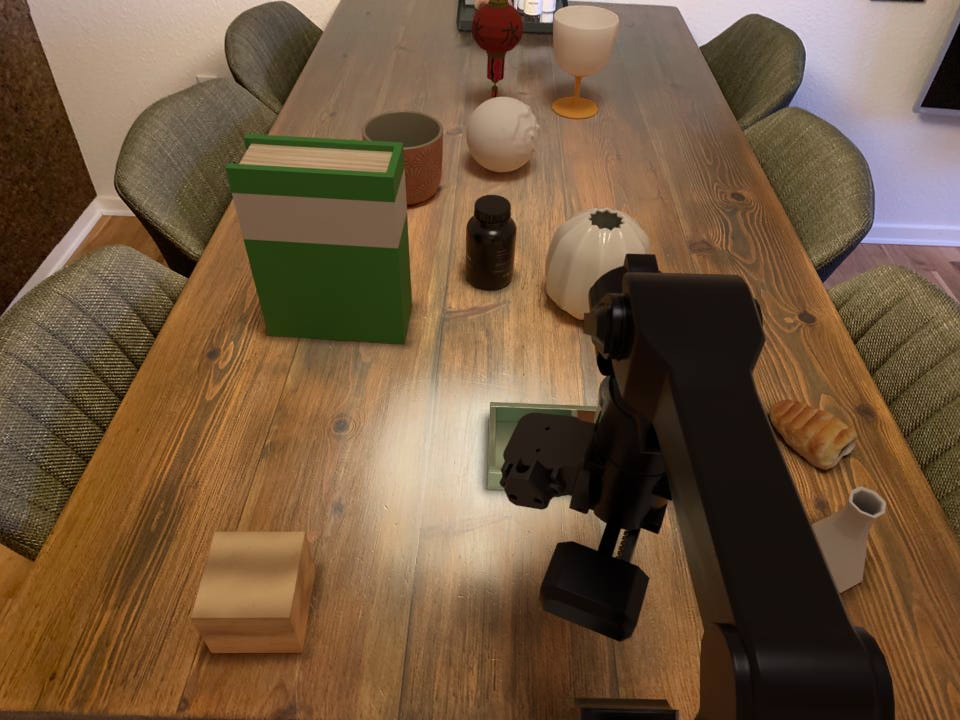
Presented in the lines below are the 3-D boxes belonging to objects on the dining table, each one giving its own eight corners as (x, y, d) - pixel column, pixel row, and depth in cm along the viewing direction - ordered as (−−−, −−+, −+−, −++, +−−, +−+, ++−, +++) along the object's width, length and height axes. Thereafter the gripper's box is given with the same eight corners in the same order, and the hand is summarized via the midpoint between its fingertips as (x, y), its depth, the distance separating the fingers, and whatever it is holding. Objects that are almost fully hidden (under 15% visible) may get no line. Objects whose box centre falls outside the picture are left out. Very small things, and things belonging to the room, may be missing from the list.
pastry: (753, 426, 82) (763, 404, 80) (785, 399, 86) (796, 377, 83) (826, 477, 78) (840, 456, 75) (857, 446, 81) (871, 425, 78)
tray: (665, 496, 75) (671, 480, 73) (487, 489, 75) (488, 472, 73) (652, 425, 82) (657, 408, 80) (489, 418, 82) (490, 401, 80)
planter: (398, 221, 110) (393, 157, 102) (352, 187, 116) (345, 125, 109) (459, 194, 116) (459, 131, 108) (413, 163, 122) (410, 102, 114)
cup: (564, 89, 144) (574, 0, 132) (615, 106, 140) (631, 15, 128) (533, 110, 137) (541, 18, 125) (585, 128, 133) (599, 34, 121)
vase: (524, 283, 100) (532, 201, 90) (610, 261, 104) (625, 180, 95) (571, 346, 91) (585, 263, 82) (662, 320, 95) (685, 237, 86)
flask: (809, 513, 74) (847, 455, 67) (877, 559, 71) (924, 502, 64) (775, 556, 71) (811, 500, 63) (844, 607, 67) (890, 553, 60)
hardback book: (267, 335, 91) (225, 167, 74) (283, 298, 96) (246, 133, 79) (404, 344, 91) (393, 177, 74) (412, 306, 96) (403, 142, 79)
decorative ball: (522, 192, 117) (527, 123, 108) (455, 176, 120) (454, 108, 111) (544, 158, 125) (551, 92, 116) (481, 144, 127) (483, 79, 119)
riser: (302, 653, 63) (289, 617, 58) (211, 653, 62) (190, 618, 57) (316, 569, 68) (305, 531, 63) (232, 570, 68) (214, 531, 63)
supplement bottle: (455, 276, 101) (455, 203, 92) (487, 255, 104) (490, 183, 96) (490, 298, 97) (494, 225, 89) (523, 276, 101) (529, 203, 93)
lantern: (485, 124, 133) (491, -55, 112) (460, 104, 139) (462, -71, 117) (527, 114, 136) (541, -62, 115) (502, 94, 142) (510, -77, 121)
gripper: (566, 308, 52) (546, 435, 64) (464, 512, 40) (462, 623, 52) (717, 353, 50) (668, 477, 61) (656, 586, 38) (609, 686, 49)
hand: (604, 556), depth 56 cm, fingers open, 9 cm apart
